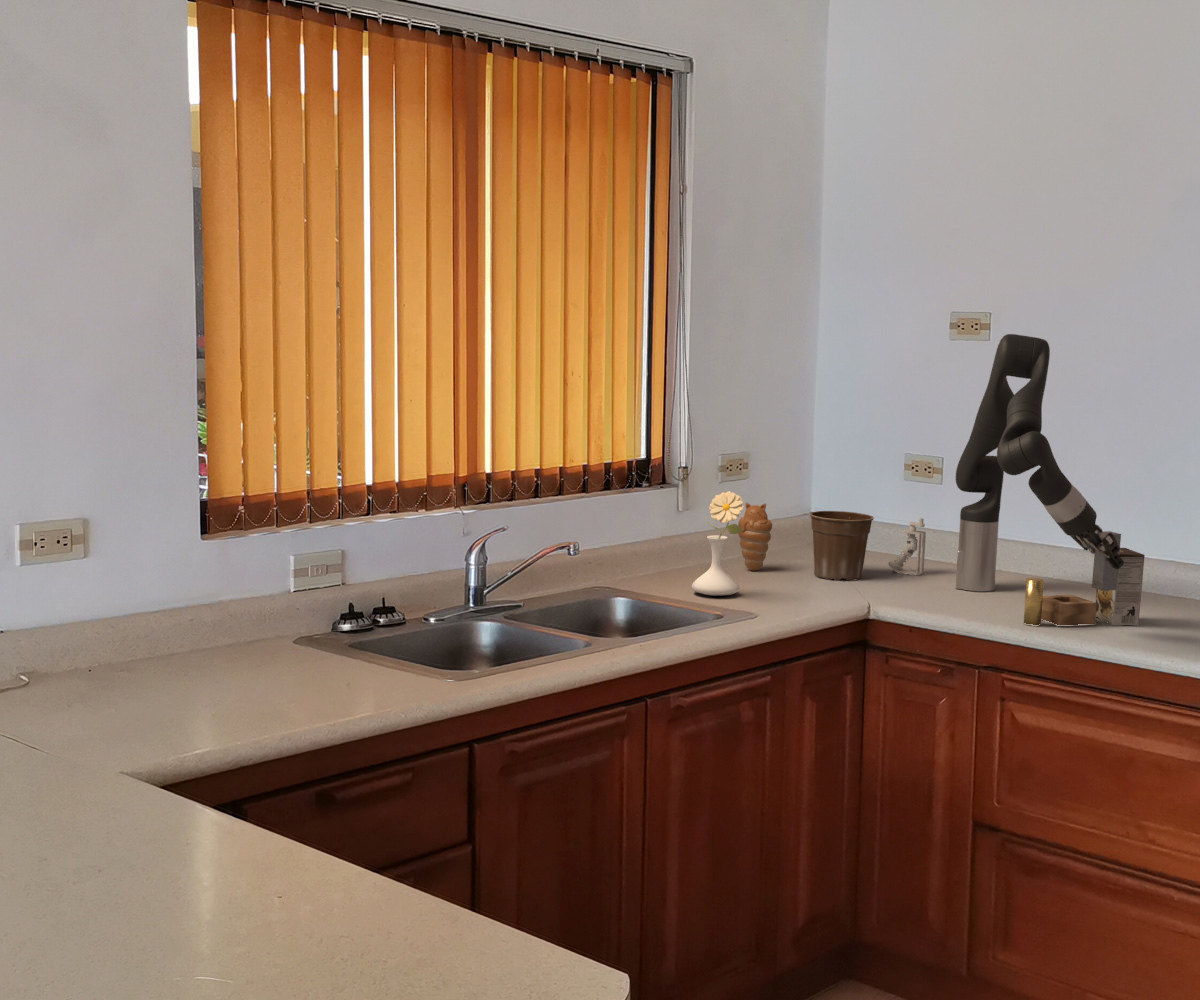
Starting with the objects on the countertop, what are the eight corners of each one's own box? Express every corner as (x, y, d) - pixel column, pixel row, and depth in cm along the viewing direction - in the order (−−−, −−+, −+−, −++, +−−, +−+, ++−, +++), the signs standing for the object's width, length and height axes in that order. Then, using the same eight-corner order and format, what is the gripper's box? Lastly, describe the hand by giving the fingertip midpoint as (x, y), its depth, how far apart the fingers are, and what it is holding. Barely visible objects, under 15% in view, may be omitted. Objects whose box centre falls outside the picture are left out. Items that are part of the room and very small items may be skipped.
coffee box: (1093, 617, 298) (1098, 546, 296) (1120, 617, 298) (1125, 546, 296) (1111, 626, 289) (1117, 553, 287) (1140, 626, 289) (1145, 553, 287)
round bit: (1023, 625, 287) (1026, 580, 286) (1023, 622, 291) (1026, 577, 289) (1041, 626, 286) (1044, 581, 285) (1040, 623, 290) (1043, 578, 288)
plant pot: (880, 575, 342) (883, 514, 340) (856, 585, 329) (860, 521, 327) (821, 568, 351) (824, 508, 349) (796, 577, 338) (799, 515, 336)
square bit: (1102, 590, 277) (1106, 534, 276) (1091, 587, 281) (1096, 531, 279) (1116, 590, 278) (1121, 534, 277) (1105, 586, 282) (1110, 531, 280)
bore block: (1059, 626, 287) (1061, 604, 286) (1035, 617, 295) (1036, 596, 294) (1095, 625, 289) (1096, 602, 288) (1070, 616, 298) (1071, 594, 297)
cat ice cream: (735, 572, 343) (737, 503, 340) (738, 567, 350) (741, 500, 348) (769, 574, 341) (772, 505, 338) (772, 569, 348) (774, 501, 346)
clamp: (892, 569, 352) (895, 514, 350) (926, 574, 347) (929, 517, 345) (885, 571, 349) (888, 515, 347) (919, 576, 343) (923, 519, 341)
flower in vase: (681, 593, 313) (684, 489, 310) (711, 587, 321) (714, 486, 318) (725, 602, 304) (729, 495, 301) (754, 595, 313) (758, 491, 309)
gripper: (1102, 500, 268) (1148, 557, 273) (1060, 491, 281) (1104, 545, 286) (1077, 526, 267) (1124, 583, 272) (1036, 516, 281) (1081, 570, 286)
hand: (1113, 564), depth 279 cm, fingers closed on square bit, 3 cm apart
